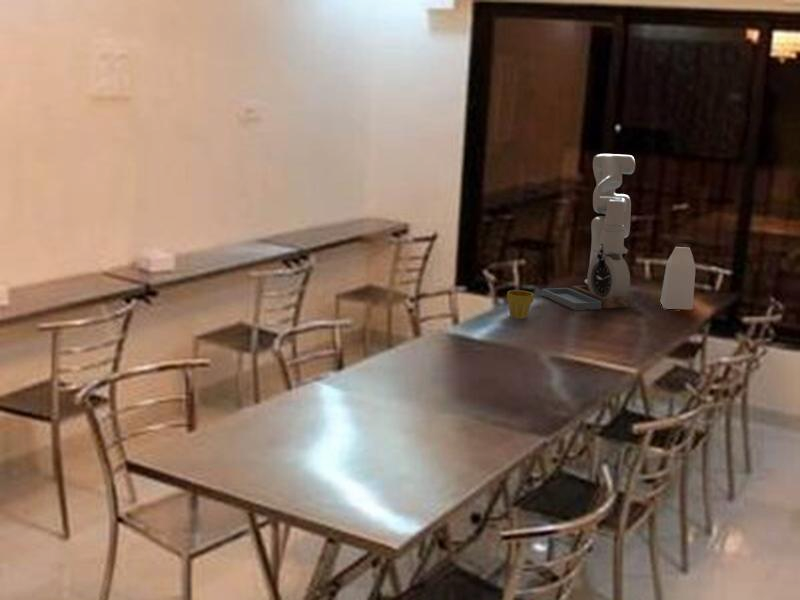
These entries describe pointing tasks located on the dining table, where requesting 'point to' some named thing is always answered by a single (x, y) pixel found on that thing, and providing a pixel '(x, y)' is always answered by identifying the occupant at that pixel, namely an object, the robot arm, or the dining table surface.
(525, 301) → the plant pot
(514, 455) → the dining table surface
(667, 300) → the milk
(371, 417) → the dining table surface
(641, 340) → the dining table surface
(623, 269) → the alarm clock
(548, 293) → the slate tray
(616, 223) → the robot arm
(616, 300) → the walnut stall
